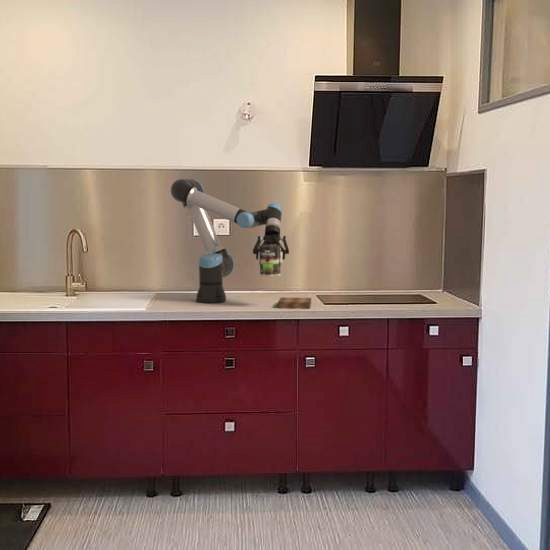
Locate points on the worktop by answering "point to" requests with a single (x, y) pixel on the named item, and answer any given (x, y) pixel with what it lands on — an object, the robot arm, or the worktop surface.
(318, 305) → the worktop surface
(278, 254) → the coffee can
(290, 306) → the walnut board
